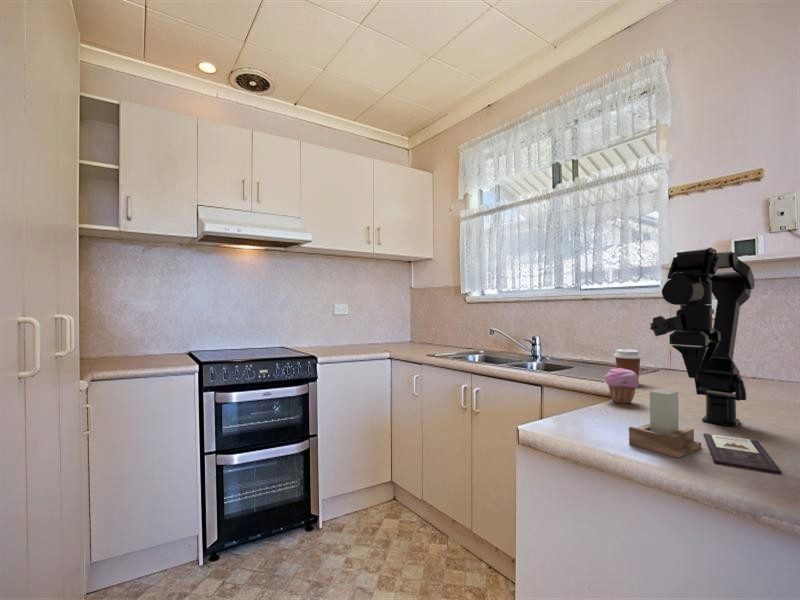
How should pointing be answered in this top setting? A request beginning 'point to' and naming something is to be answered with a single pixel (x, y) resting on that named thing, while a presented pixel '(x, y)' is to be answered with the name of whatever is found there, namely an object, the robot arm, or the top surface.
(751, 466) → the chocolate bar
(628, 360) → the coffee cup
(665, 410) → the pale green rectangular block
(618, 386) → the cupcake
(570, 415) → the top surface
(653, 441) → the tray
